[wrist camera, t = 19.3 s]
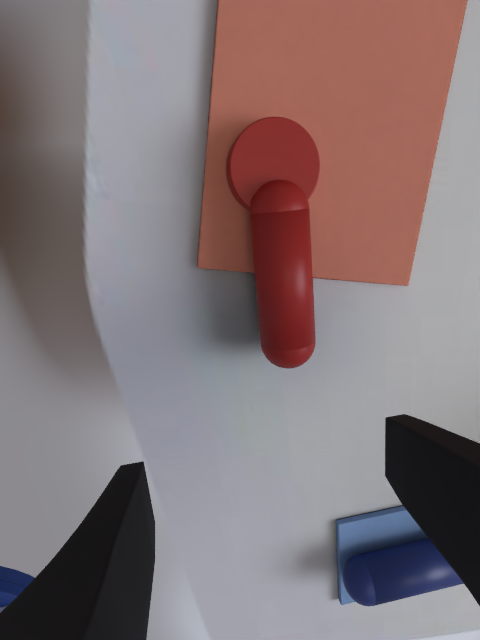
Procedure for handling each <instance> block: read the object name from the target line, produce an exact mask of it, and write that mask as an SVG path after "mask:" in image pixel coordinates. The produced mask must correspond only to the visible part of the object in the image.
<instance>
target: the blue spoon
mask: <svg viewBox="0 0 480 640" xmlns="http://www.w3.org/2000/svg"><path fill="white" fill-rule="evenodd" d="M342 577H343V583H344V587H345V589H346V591H347V593H348V594H349V596H350V597H351V598H352V599H353V600H354V601H356V602H357V603H359V604H361V605H364V606H374V605H378V604H382V603H387V602H391V601H395V600H399V599H403V598H407V597H411V596H415V595H419V594H423V593H427V592H431V591H435V590H439V589H443V588H447V587H451V586H455V585H459V584H463V581H462V580H461V579H460V577H459V576H458V575H457V573H456V572H455V571H454V570H453V568H452V567H451V566H450V564H449V563H448V562H447V561H446V559H445V558H444V557H443V556H442V554H441V553H440V552H439V551H438V549H437V548H436V547H435V546H434V544H433V543H432V542H431V541H430V539H429V538H428V539H424V540H419V541H415V542H411V543H406V544H402V545H397V546H393V547H389V548H384V549H380V550H375V551H371V552H367V553H362V554H358V555H355V556H353V557H351V558H350V559H349V560H348V561H347V562H346V564H345V566H344V569H343V576H342Z"/></svg>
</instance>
